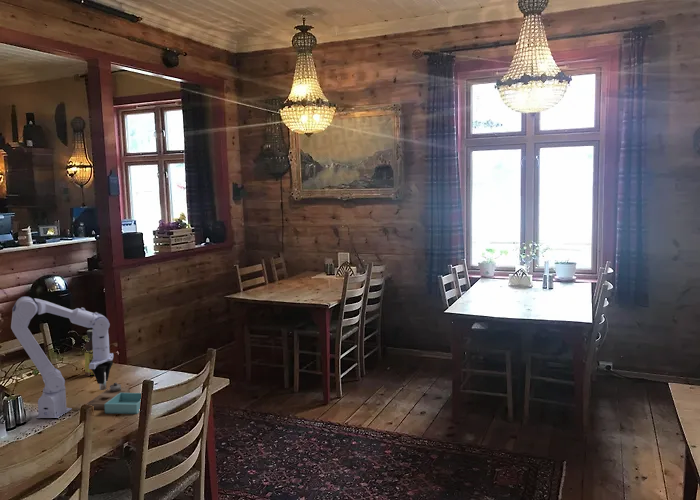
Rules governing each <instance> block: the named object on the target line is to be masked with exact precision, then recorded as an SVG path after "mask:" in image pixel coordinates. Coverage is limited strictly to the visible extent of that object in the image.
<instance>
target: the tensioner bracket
mask: <svg viewBox="0 0 700 500" xmlns="http://www.w3.org/2000/svg"><path fill="white" fill-rule="evenodd" d="M130 389H131V388H130V387H122V384H120V383H118V382H113V384H110V386H109V387H108V388H107V389H105V390H103V391H102V392H101V393H100V394H98V395H96V396H95V397H94V398H93V399H90V400H89V401H88V402H87V403H86V405H87V404H88V405H92V406H94V409H93V410H105V405H104V404H105V403H107V402H108V401H109V400H111V399H112V398H113V397H115V396H116V395H117V394H119V393H131V390H130Z"/></svg>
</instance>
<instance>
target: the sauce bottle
mask: <svg viewBox="0 0 700 500" xmlns="http://www.w3.org/2000/svg"><path fill="white" fill-rule="evenodd" d="M86 334H87V336H88V338H90V341H89V342H87V341H86V342H85V344H84V375H85V376H87V377H91V376H90V375H91V373H93V371H92V370H91V369H89V364H90V363H91V361H92V360H93V353H87V352H86V351H85V349H86V350H87V351H92V350H93V344H92V335H93V334H92V329H88V330H87V331H86ZM93 374H94V373H93ZM93 377H95V375H94V376H93Z"/></svg>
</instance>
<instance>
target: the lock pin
mask: <svg viewBox="0 0 700 500" xmlns="http://www.w3.org/2000/svg"><path fill="white" fill-rule="evenodd" d="M98 385H99V390H100V391H106V390H107V389H108V388H107V381H106V371H105V378H104V383H103V384H98Z"/></svg>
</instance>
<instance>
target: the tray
mask: <svg viewBox="0 0 700 500" xmlns="http://www.w3.org/2000/svg"><path fill="white" fill-rule="evenodd" d="M141 393H142V392H130V393H119V394H117V395H116V396H115V397H113V398H112V399H111V400H109V401H108V402H107V403H105V404H104V405H105V409H104V414H114V415H115V414H120V415H121V414H123V415H125V414H126V415H128V414H129V415H138V414H139V413H140V412H139V409H140V402H141V400H140V399H141Z"/></svg>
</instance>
